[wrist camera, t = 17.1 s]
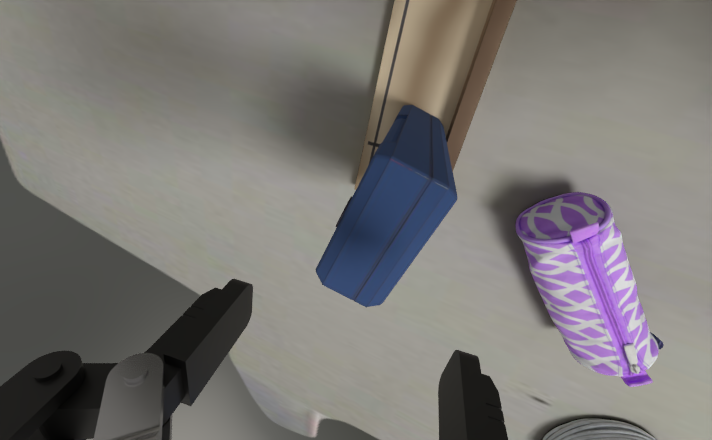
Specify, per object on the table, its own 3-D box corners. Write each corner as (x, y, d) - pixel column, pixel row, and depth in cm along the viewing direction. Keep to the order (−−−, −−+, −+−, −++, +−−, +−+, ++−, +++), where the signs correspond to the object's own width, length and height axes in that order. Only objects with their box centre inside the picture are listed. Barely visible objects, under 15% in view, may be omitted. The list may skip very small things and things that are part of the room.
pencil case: (640, 317, 40) (695, 385, 31) (561, 336, 43) (592, 400, 35) (582, 173, 33) (631, 210, 25) (496, 210, 37) (514, 252, 29)
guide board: (571, -173, 23) (597, -215, 19) (433, 206, 38) (434, 220, 35) (438, -194, 24) (439, -237, 20) (356, 185, 39) (349, 197, 36)
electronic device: (403, 195, 37) (380, 316, 20) (365, 175, 37) (308, 279, 20) (447, 123, 32) (468, 197, 15) (404, 100, 32) (374, 147, 15)
